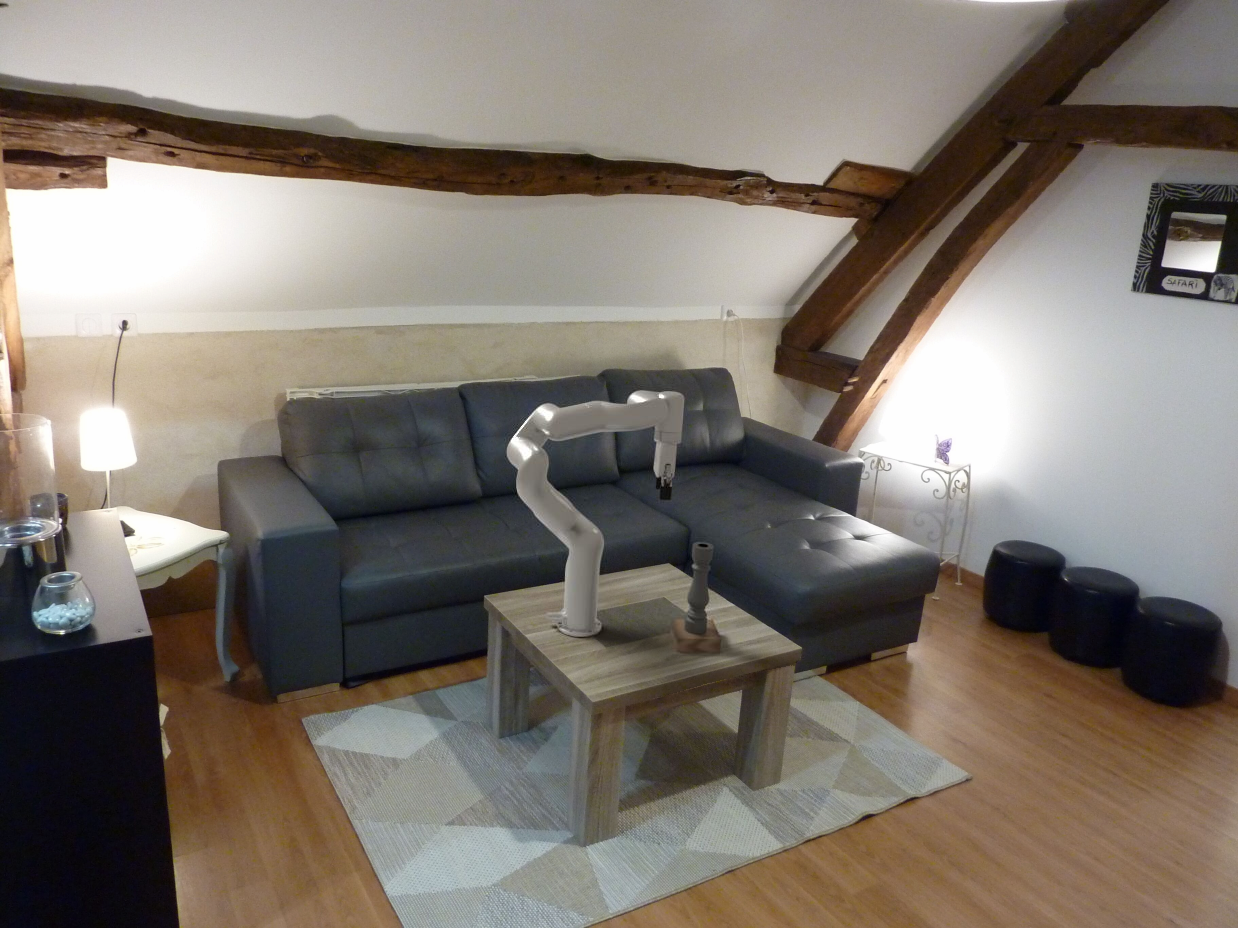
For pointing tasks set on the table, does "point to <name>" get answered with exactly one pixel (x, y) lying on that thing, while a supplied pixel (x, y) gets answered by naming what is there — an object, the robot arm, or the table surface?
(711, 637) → the walnut plinth
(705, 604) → the candle holder
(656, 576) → the table surface
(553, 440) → the robot arm
